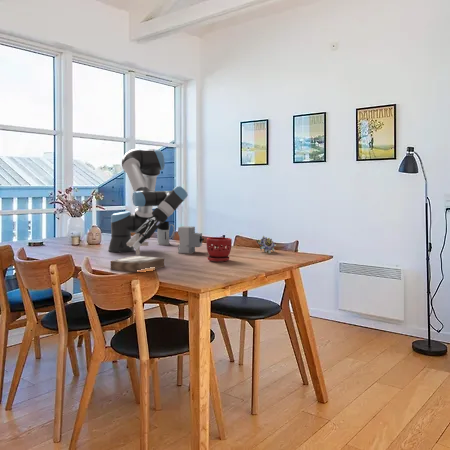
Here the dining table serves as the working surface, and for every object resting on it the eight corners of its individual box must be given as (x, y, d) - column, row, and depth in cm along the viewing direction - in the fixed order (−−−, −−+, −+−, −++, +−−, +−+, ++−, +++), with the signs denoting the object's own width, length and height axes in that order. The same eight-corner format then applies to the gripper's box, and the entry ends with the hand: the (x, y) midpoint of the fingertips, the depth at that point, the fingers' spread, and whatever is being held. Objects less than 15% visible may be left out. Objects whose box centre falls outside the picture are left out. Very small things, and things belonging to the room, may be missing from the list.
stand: (110, 269, 222) (110, 260, 221) (135, 263, 238) (134, 255, 237) (141, 272, 213) (140, 263, 213) (164, 266, 229) (164, 257, 229)
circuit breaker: (201, 253, 272) (201, 227, 271) (178, 253, 275) (177, 227, 273) (204, 251, 279) (204, 226, 278) (181, 251, 282) (181, 226, 281)
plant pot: (223, 263, 238) (223, 239, 237) (201, 261, 245) (201, 238, 244) (236, 260, 249) (236, 237, 248) (215, 258, 256) (215, 236, 255)
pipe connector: (128, 253, 230) (128, 232, 229) (149, 252, 230) (148, 232, 229) (125, 256, 220) (125, 235, 219) (147, 255, 220) (147, 234, 220)
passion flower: (269, 262, 272) (262, 247, 266) (256, 257, 280) (249, 242, 274) (281, 250, 277) (275, 235, 270) (268, 245, 285) (262, 230, 278)
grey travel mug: (163, 243, 322) (162, 221, 321) (178, 244, 314) (178, 222, 313) (154, 244, 315) (153, 222, 314) (169, 245, 307) (169, 223, 306)
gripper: (175, 219, 220) (143, 254, 215) (160, 216, 240) (130, 249, 235) (164, 208, 218) (132, 244, 212) (150, 206, 237) (119, 239, 232)
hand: (131, 246), depth 223 cm, fingers closed on pipe connector, 10 cm apart
